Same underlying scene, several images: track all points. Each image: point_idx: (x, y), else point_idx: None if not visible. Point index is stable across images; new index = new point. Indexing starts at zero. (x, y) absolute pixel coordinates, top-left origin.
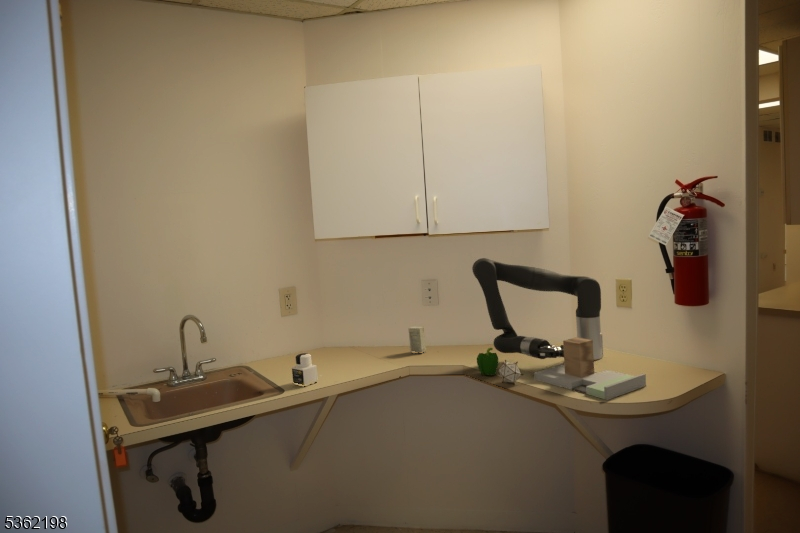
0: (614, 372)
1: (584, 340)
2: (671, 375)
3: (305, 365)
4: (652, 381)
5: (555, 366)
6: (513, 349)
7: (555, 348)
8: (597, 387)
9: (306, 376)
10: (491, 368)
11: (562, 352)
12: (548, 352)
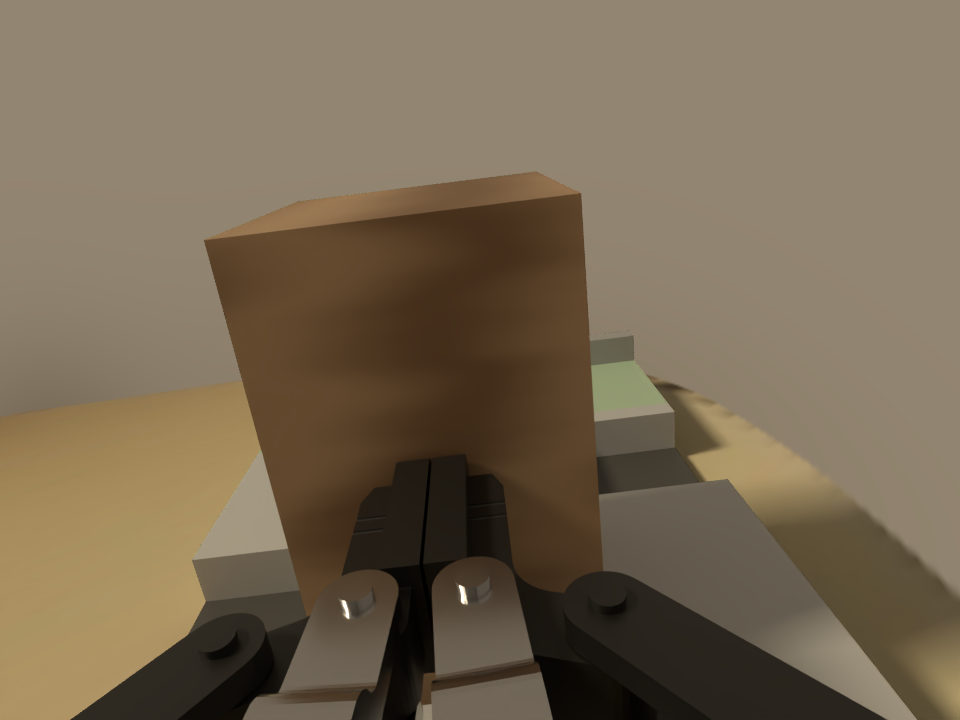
0: (249, 499)
1: (363, 198)
2: (35, 472)
3: None
4: (202, 456)
5: None
6: None
7: (466, 673)
8: (621, 390)
9: None
10: None
11: (479, 548)
12: (793, 691)
